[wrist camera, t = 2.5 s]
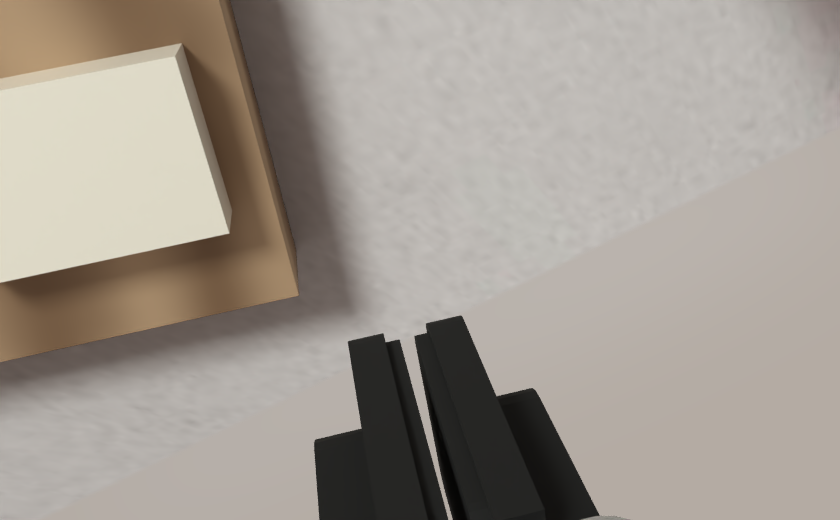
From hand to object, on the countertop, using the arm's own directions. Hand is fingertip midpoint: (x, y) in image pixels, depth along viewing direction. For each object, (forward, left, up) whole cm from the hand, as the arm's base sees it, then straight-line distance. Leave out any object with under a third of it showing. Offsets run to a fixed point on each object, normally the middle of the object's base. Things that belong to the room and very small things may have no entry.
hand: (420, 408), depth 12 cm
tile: (+9, 0, -17) cm, 19 cm away
